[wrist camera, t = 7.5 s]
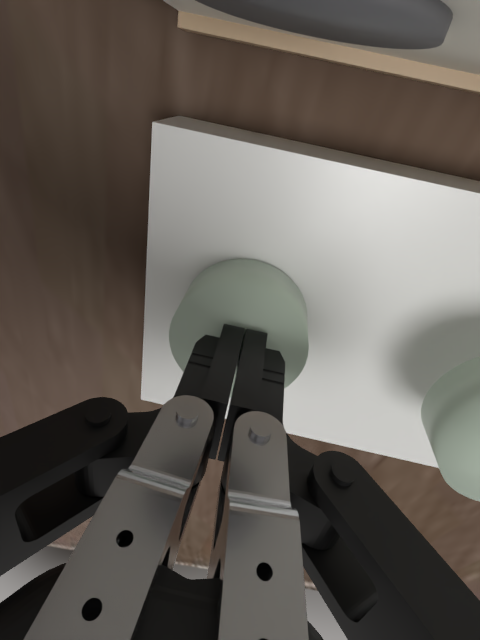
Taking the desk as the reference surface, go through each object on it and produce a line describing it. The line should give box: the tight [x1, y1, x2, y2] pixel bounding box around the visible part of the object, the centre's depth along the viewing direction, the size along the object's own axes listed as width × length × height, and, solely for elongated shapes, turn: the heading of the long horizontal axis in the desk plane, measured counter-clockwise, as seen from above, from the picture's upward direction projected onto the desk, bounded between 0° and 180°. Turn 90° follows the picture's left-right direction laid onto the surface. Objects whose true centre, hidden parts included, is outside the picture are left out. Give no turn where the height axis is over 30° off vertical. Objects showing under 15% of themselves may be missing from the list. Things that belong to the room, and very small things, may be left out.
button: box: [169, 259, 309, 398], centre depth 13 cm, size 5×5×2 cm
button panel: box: [141, 116, 480, 468], centre depth 15 cm, size 26×12×3 cm, turn 80°
